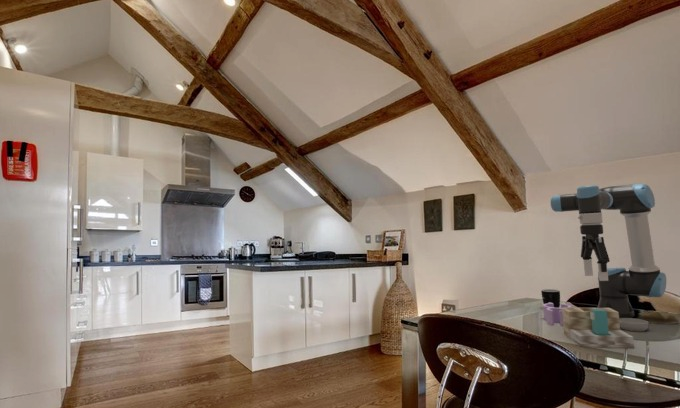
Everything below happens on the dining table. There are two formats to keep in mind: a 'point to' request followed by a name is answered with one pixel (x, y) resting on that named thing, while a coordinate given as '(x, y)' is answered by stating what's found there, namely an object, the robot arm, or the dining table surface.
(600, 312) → the plug
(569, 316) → the socket block
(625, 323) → the saucepan
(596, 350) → the dining table surface
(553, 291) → the mug
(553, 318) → the clip
